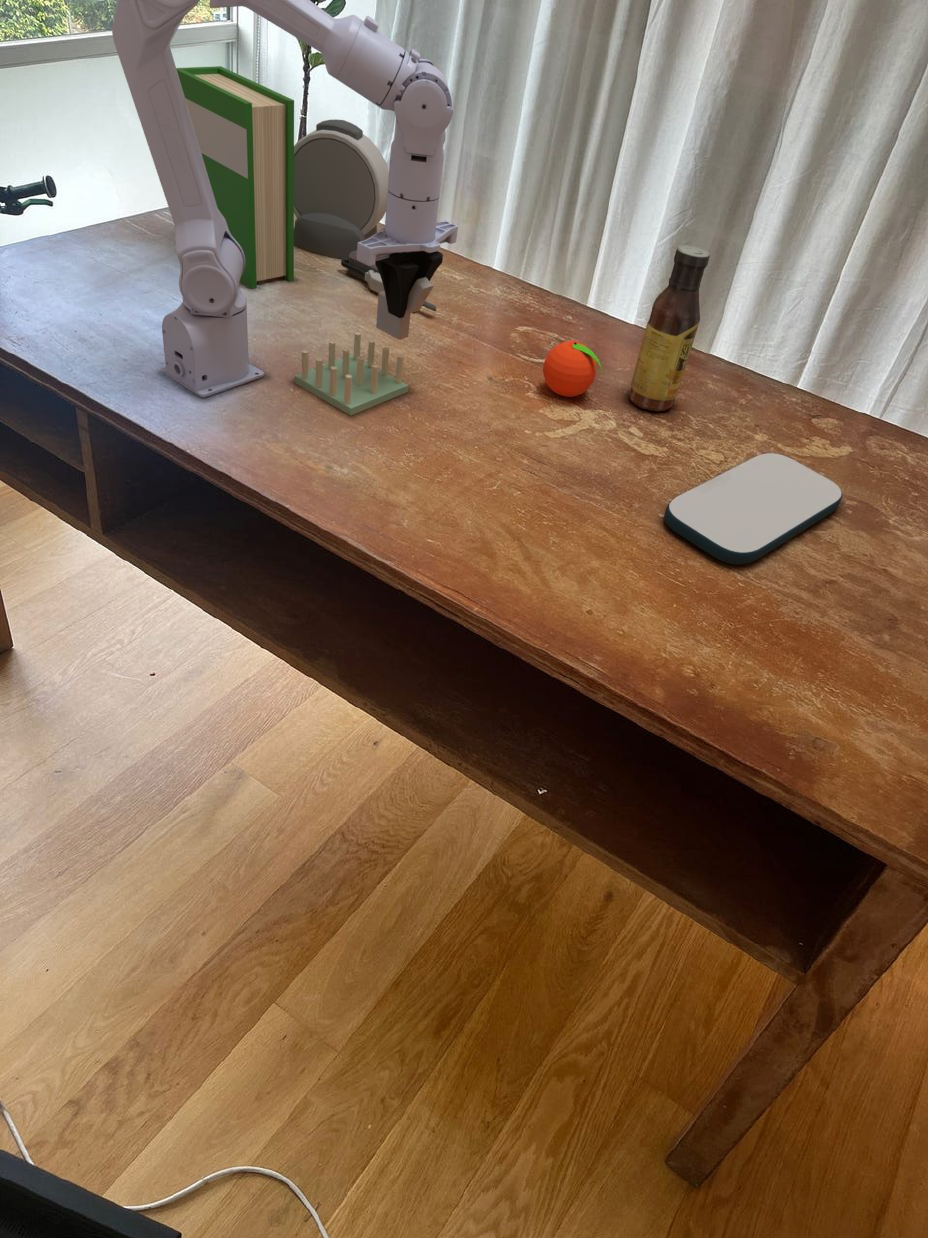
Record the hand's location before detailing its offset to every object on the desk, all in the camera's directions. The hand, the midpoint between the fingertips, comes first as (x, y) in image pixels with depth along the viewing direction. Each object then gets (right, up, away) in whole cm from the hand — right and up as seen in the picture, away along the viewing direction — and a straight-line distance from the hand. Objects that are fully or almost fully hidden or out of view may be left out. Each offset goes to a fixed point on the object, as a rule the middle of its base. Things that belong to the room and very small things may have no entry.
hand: (402, 312), depth 107 cm
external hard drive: (+40, -25, -4) cm, 47 cm away
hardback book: (-27, +17, +29) cm, 43 cm away
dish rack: (-7, -8, +5) cm, 11 cm away
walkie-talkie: (-3, +13, +30) cm, 32 cm away
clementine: (+21, -7, +11) cm, 25 cm away
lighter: (0, -2, +2) cm, 3 cm away
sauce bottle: (+32, -8, +13) cm, 36 cm away
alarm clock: (-14, +24, +40) cm, 48 cm away
